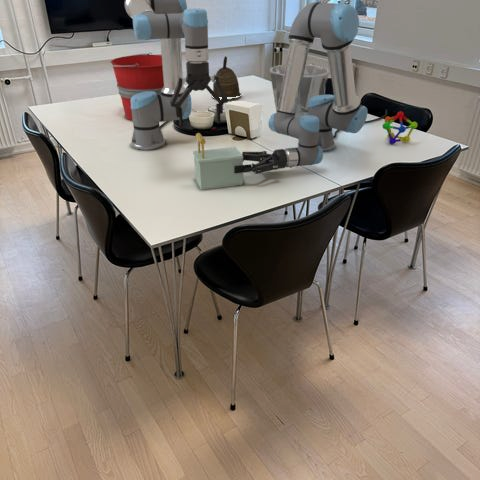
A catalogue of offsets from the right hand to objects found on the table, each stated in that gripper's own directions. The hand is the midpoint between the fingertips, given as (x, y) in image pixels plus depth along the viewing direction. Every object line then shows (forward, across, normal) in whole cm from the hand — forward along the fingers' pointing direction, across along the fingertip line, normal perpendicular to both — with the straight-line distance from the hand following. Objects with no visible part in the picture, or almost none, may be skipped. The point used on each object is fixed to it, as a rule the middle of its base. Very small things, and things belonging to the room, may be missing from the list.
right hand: (230, 164), depth 170 cm
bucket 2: (-52, +58, -7) cm, 78 cm away
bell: (-33, +123, -7) cm, 128 cm away
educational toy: (-87, +19, -7) cm, 90 cm away
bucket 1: (+20, +98, -7) cm, 100 cm away
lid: (+5, 0, +4) cm, 7 cm away
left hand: (+11, 0, +17) cm, 20 cm away
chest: (+5, 0, -7) cm, 8 cm away
